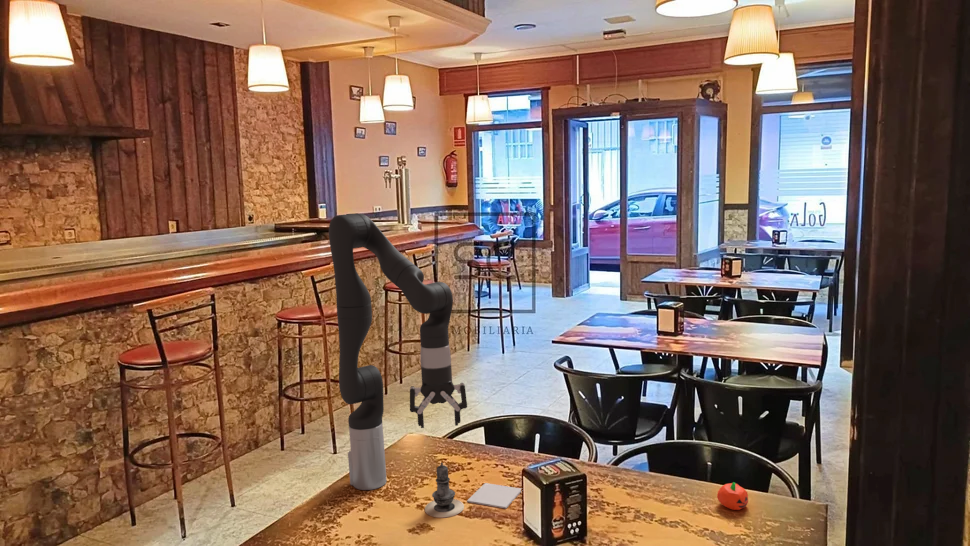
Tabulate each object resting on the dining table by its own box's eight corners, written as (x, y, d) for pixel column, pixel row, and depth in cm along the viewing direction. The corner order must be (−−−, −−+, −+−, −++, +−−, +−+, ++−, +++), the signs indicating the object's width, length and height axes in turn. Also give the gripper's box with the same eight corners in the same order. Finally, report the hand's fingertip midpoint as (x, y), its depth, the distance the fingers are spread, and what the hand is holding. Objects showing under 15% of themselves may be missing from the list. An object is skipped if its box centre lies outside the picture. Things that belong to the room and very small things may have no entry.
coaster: (417, 513, 170) (417, 513, 169) (436, 496, 178) (436, 495, 178) (452, 520, 165) (452, 519, 165) (470, 502, 174) (470, 501, 174)
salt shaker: (452, 513, 168) (450, 467, 167) (430, 512, 170) (427, 466, 168) (458, 502, 174) (455, 458, 173) (436, 501, 175) (433, 457, 174)
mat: (467, 501, 175) (467, 500, 175) (485, 484, 184) (485, 482, 184) (506, 508, 170) (506, 507, 170) (522, 490, 180) (522, 488, 180)
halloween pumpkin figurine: (748, 503, 168) (752, 479, 166) (744, 518, 161) (748, 493, 159) (718, 495, 171) (722, 471, 170) (713, 508, 164) (716, 484, 163)
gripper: (406, 369, 163) (410, 433, 165) (465, 364, 164) (468, 429, 166) (407, 361, 170) (411, 423, 172) (463, 357, 171) (467, 418, 174)
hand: (439, 425), depth 169 cm, fingers open, 8 cm apart
